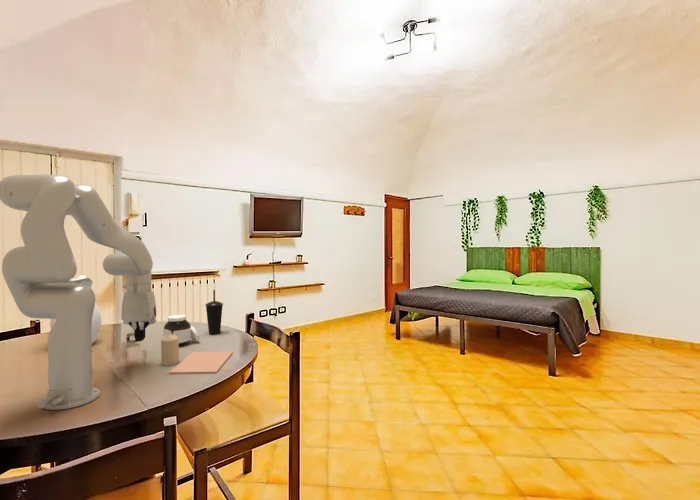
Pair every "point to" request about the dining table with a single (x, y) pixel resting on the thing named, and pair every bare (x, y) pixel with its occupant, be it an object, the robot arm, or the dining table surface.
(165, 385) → the dining table surface
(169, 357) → the candle
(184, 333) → the spread jar
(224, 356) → the mat
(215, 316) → the drinking cup
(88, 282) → the pitcher
